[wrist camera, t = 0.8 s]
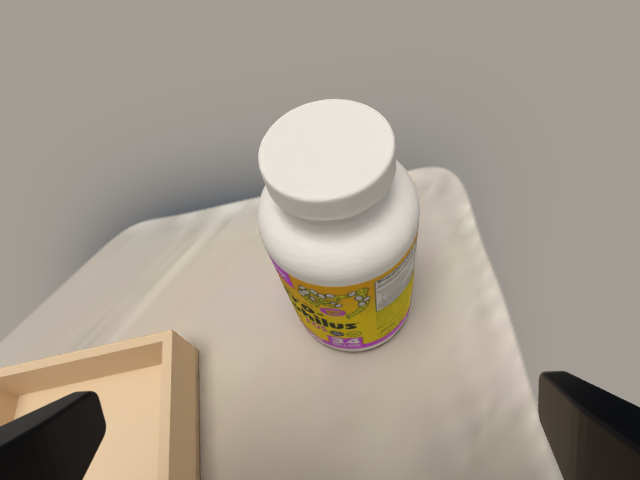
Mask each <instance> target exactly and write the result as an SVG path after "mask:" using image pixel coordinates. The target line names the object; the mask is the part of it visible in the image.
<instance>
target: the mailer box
mask: <svg viewBox="0 0 640 480" xmlns="http://www.w3.org/2000/svg"><path fill="white" fill-rule="evenodd" d="M77 391H94V392H96V393H97V395H98V396H99V399H100V403H101V406H102V410H103V414H104V417H105V421H106V432H105V436H104V438H103V440H102V442H101V444H100V446H99V448H98V450H97V452H96V454H95V456H94V458H93V460H92V462H91V464H90V466H89V468H88V470H87V472H86V474H85V476H84V478H83V480H200V434H199V351H198V350H197V349H196V348H194V347H193V346H192V345H191V344H189V343H188V342H187V341H186V340H184V339H183V338H182V337H181V336H179V335H178V334H177V333H176V332H174V331H173V330H169V331H165V332H160V333H156V334H151V335H147V336H143V337H138V338H134V339H129V340H125V341H120V342H116V343H111V344H107V345H102V346H98V347H93V348H89V349H84V350H80V351H75V352H71V353H66V354H62V355H57V356H53V357H48V358H44V359H39V360H35V361H30V362H26V363H21V364H17V365H12V366H8V367H3V368H0V426H2V425H4V424H6V423H8V422H11V421H13V420H15V419H17V418H19V417H21V416H24V415H26V414H28V413H30V412H32V411H34V410H36V409H39V408H41V407H43V406H45V405H47V404H49V403H52V402H54V401H56V400H58V399H60V398H62V397H64V396H67V395H69V394H71V393H73V392H77Z"/></svg>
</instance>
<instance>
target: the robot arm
mask: <svg viewBox="0 0 640 480" xmlns="http://www.w3.org/2000/svg"><path fill="white" fill-rule="evenodd" d="M538 412H539V418H540V422H541V425H542V427H543V430H544V432H545V435H546V437H547V439H548V442H549V444H550V447H551V449H552V452H553V454H554V457H555V459H556V461H557V464H558V466H559V469H560V471H561V474H562V476H563V478H564V480H640V407H638V406H636V405H634V404H632V403H630V402H628V401H626V400H624V399H621V398H619V397H617V396H615V395H613V394H611V393H609V392H607V391H605V390H603V389H601V388H599V387H596V386H594V385H592V384H590V383H588V382H586V381H584V380H582V379H580V378H578V377H576V376H574V375H572V374H570V373H568V372H565V371H546V372H542V373H541V374H540V377H539V397H538ZM105 432H106V421H105V417H104V414H103V410H102V406H101V403H100V399H99V396H98V395H97V393H96V392H94V391H77V392H73V393H71V394H69V395H67V396H64V397H62V398H60V399H58V400H56V401H54V402H52V403H49V404H47V405H45V406H43V407H41V408H39V409H36V410H34V411H32V412H30V413H28V414H26V415H24V416H21V417H19V418H17V419H15V420H13V421H11V422H8V423H6V424H4V425H2V426H0V480H83V478H84V476H85V474H86V472H87V470H88V468H89V466H90V464H91V462H92V460H93V458H94V456H95V454H96V452H97V450H98V448H99V446H100V444H101V442H102V440H103V438H104V436H105Z"/></svg>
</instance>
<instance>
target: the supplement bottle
mask: <svg viewBox="0 0 640 480" xmlns="http://www.w3.org/2000/svg"><path fill="white" fill-rule="evenodd" d="M258 158H259V168H260V171H261V174H262V176H263V179H264V182H265V184H266V185H265V187H264V189H263V192H262V194H261V197H260V200H259V205H258V216H257V217H258V228H259V232H260V236H261V239H262V241H263V244H264V246H265V248H266V250H267V252H268V254H269V256H270V258H271V260H272V262H273V264H274V266H275V268H276V270H277V272H278V275H279V277H280V279H281V281H282V283H283V285H284V287H285V289H286V291H287V293H288V295H289V298H290V300H291V302H292V304H293V306H294V308H295V310H296V312H297V314H298V316H299V318H300V320H301V322H302V323H303V325H304V327H305V328H306V330H307V331H308V332H309V333H310V334H311V335H312V336H313V337H314V338H315V339H316V340H318V341H319V342H321V343H323V344H324V345H326V346H329V347H331V348H334V349H337V350H341V351H351V352H353V351H364V350H368V349H371V348H374V347H377V346H379V345H381V344H383V343H384V342H386V341H387V340H389V339H390V338H391V337H393V336H394V335H395V334H396V333H397V331H398V330H399V329H400V327H401V326H402V324H403V323H404V321H405V319H406V317H407V315H408V311H409V308H410V303H411V297H412V288H413V276H414V265H415V255H416V245H417V235H418V226H419V214H420V205H419V198H418V194H417V190H416V187H415V185H414V183H413V181H412V179H411V177H410V175H409V174H408V172H407V171H406V170H405V168H404V167H403V166H402V165H401V164H400V163H399V162H398V161H397V160H396V154H395V138H394V134H393V131H392V129H391V127H390V125H389V123H388V122H387V120H386V119H385V118H384V117H383V116H382V115H381V114H380V113H378V112H377V111H376V110H374V109H373V108H371V107H369V106H367V105H364V104H362V103H359V102H355V101H350V100H342V99H328V100H320V101H316V102H311V103H307V104H305V105H302V106H300V107H297V108H295V109H293V110H291V111H289V112H288V113H286V114H285V115H283V116H282V117H281V118H280V119H278V120H277V121H276V122H275V123H274V124H273V125H272V127H271V128H270V129H269V130H268V132H267V133H266V135H265V136H264V138H263V140H262V142H261V145H260V149H259V154H258Z"/></svg>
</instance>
